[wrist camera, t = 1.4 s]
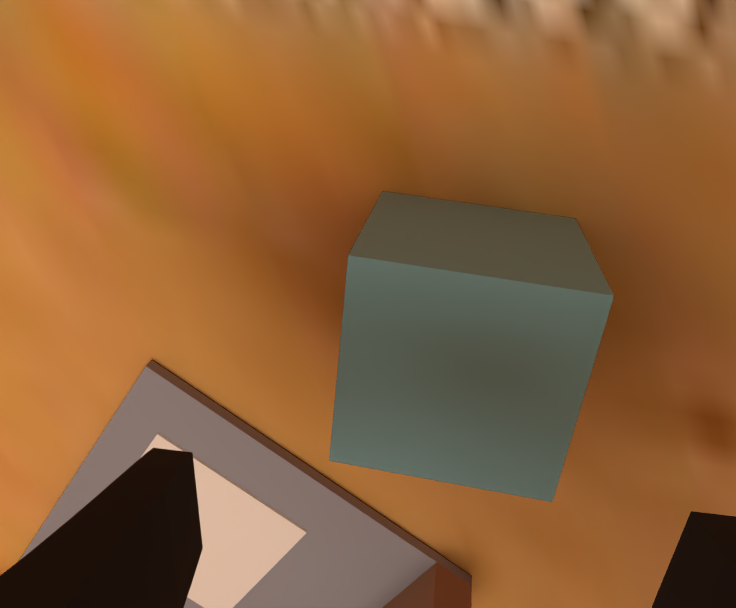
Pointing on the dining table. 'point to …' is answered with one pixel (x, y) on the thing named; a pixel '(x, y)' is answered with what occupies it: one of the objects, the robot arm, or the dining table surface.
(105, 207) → the dining table surface
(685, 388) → the dining table surface
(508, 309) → the teal cube
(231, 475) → the tray
